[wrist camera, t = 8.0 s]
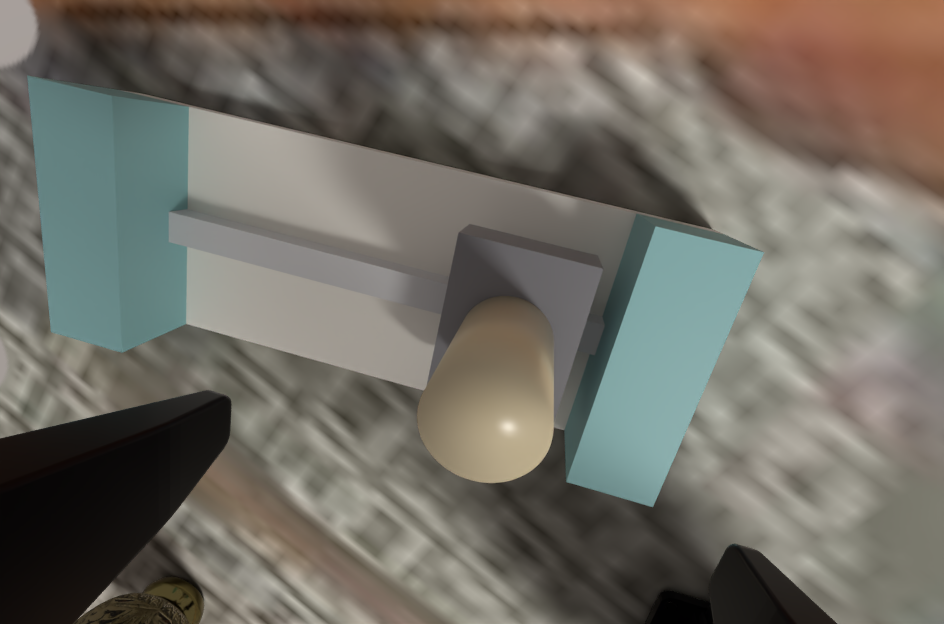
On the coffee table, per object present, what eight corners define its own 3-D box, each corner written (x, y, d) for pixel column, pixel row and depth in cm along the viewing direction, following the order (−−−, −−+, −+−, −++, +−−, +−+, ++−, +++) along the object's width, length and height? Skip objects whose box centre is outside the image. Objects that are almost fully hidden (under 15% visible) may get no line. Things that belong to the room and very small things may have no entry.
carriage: (549, 396, 19) (546, 557, 11) (442, 367, 19) (369, 503, 12) (595, 250, 17) (628, 325, 9) (474, 220, 17) (410, 269, 10)
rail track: (632, 434, 20) (652, 507, 16) (146, 299, 22) (51, 331, 18) (713, 229, 17) (764, 252, 13) (142, 93, 19) (27, 75, 15)
